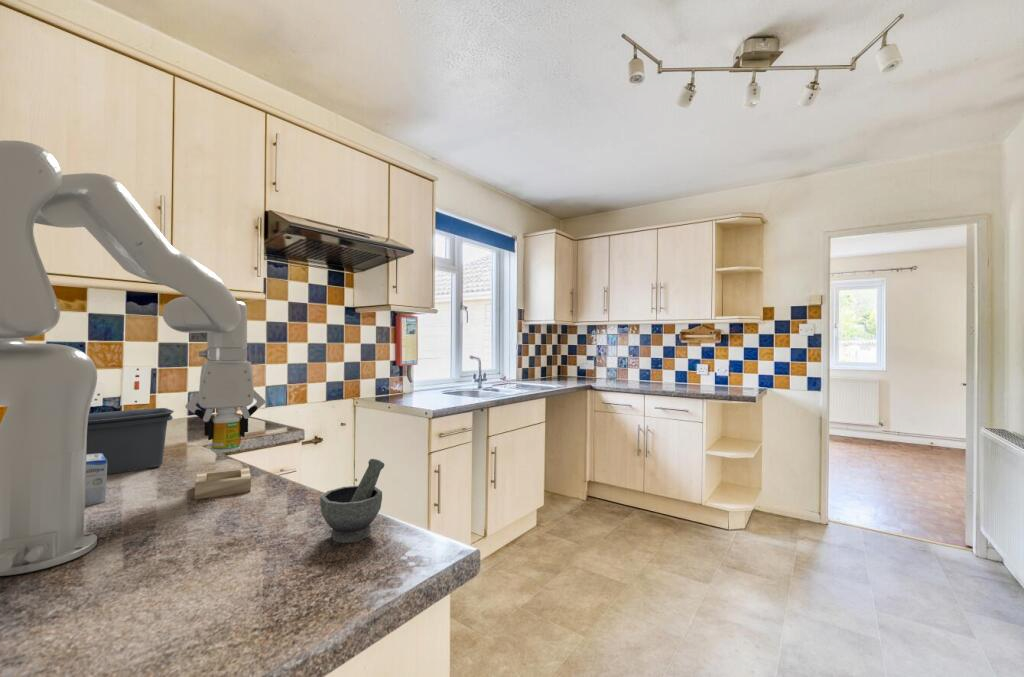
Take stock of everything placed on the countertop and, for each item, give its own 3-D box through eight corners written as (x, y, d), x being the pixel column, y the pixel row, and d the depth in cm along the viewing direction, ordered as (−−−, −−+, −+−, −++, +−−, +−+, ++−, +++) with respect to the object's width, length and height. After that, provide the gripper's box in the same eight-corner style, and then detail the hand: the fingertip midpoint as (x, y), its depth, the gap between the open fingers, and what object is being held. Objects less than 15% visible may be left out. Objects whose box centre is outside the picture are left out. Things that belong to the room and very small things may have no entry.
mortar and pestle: (342, 553, 70) (343, 475, 70) (308, 537, 75) (309, 465, 75) (398, 529, 79) (400, 460, 79) (365, 517, 84) (366, 453, 85)
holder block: (250, 491, 98) (251, 477, 98) (194, 499, 93) (194, 484, 93) (248, 479, 107) (249, 467, 107) (197, 486, 101) (197, 472, 101)
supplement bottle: (227, 453, 97) (227, 408, 97) (205, 452, 98) (206, 407, 98) (246, 447, 103) (246, 404, 103) (226, 446, 104) (226, 403, 104)
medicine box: (72, 498, 93) (73, 455, 93) (101, 493, 96) (103, 452, 96) (75, 507, 87) (77, 462, 88) (106, 502, 91) (107, 458, 91)
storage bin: (60, 486, 101) (62, 421, 101) (51, 473, 110) (53, 414, 111) (176, 467, 117) (177, 411, 117) (159, 457, 127) (161, 406, 127)
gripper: (178, 357, 93) (177, 445, 93) (272, 356, 102) (271, 436, 102) (181, 355, 99) (180, 438, 99) (269, 354, 108) (269, 430, 108)
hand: (226, 436), depth 101 cm, fingers closed on supplement bottle, 5 cm apart
